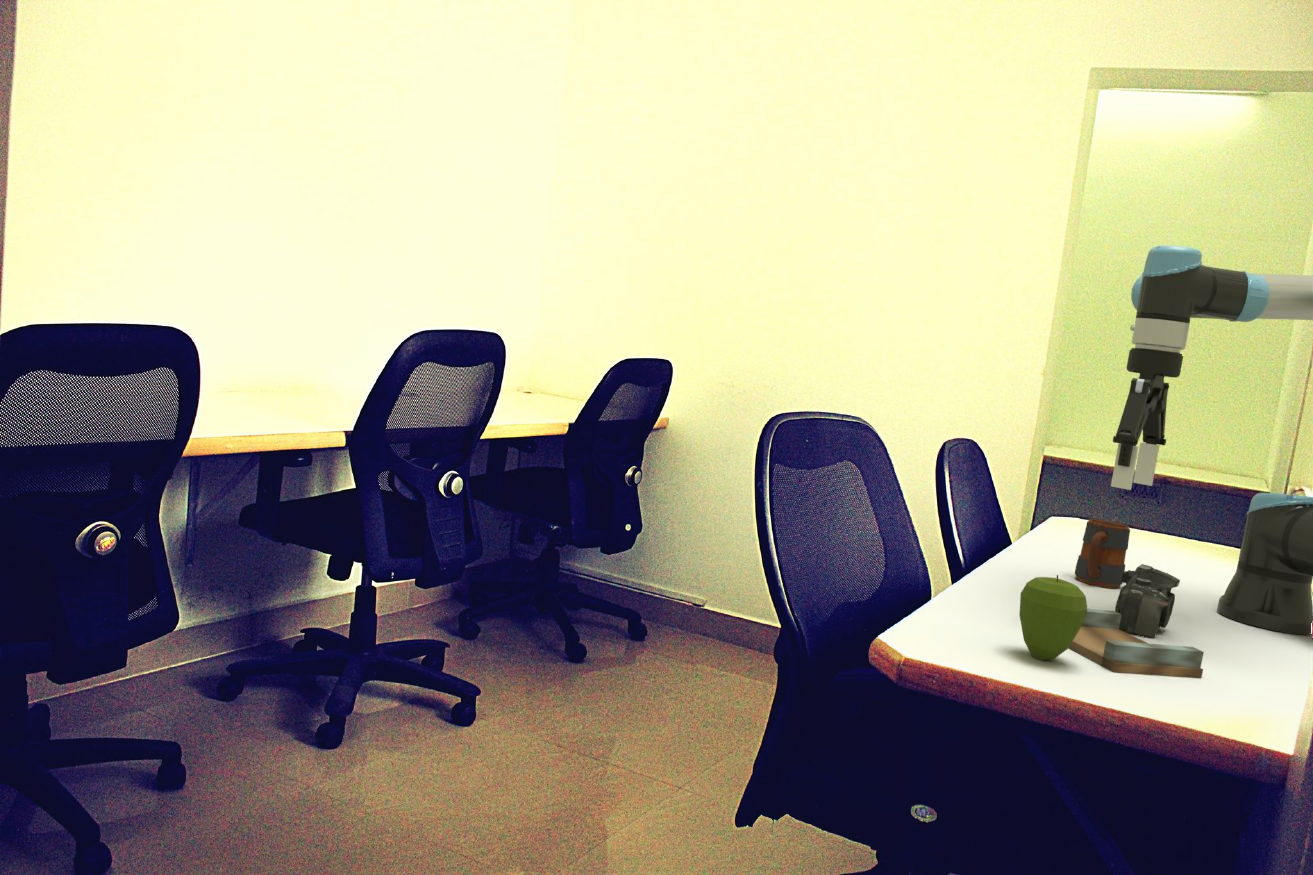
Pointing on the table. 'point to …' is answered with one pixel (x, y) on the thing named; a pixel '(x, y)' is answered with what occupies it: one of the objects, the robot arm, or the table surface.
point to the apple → (1050, 615)
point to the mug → (1103, 554)
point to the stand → (1131, 649)
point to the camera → (1145, 600)
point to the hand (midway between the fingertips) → (1132, 486)
